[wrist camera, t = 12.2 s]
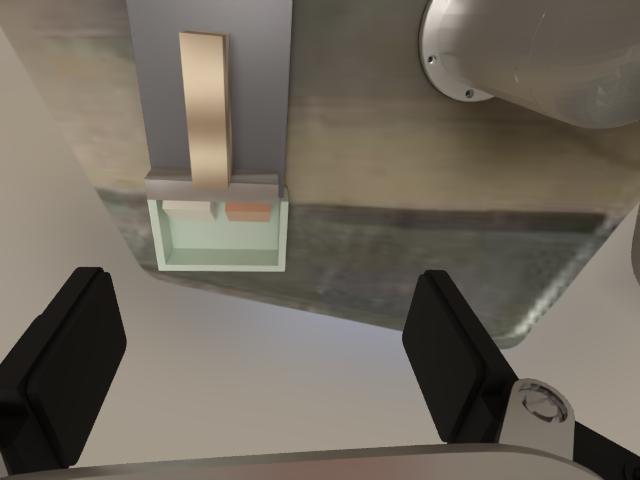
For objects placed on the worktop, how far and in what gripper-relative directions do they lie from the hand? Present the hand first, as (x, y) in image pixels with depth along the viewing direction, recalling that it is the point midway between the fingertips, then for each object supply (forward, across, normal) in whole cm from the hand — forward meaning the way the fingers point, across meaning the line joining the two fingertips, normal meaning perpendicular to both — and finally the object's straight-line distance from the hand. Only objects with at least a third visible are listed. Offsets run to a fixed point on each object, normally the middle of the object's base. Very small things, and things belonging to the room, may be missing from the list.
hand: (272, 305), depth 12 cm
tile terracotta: (+28, +2, +10) cm, 30 cm away
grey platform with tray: (+30, +5, 0) cm, 31 cm away
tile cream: (+28, +8, +10) cm, 31 cm away
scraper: (+27, +5, +2) cm, 28 cm away
